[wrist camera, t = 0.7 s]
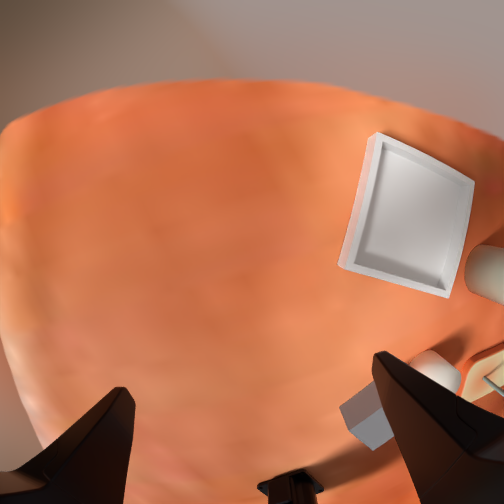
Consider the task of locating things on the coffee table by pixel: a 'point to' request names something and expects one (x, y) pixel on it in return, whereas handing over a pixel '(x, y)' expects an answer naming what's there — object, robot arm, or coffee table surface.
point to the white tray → (407, 218)
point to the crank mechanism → (482, 374)
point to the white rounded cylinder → (437, 369)
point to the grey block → (367, 417)
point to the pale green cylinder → (486, 272)
